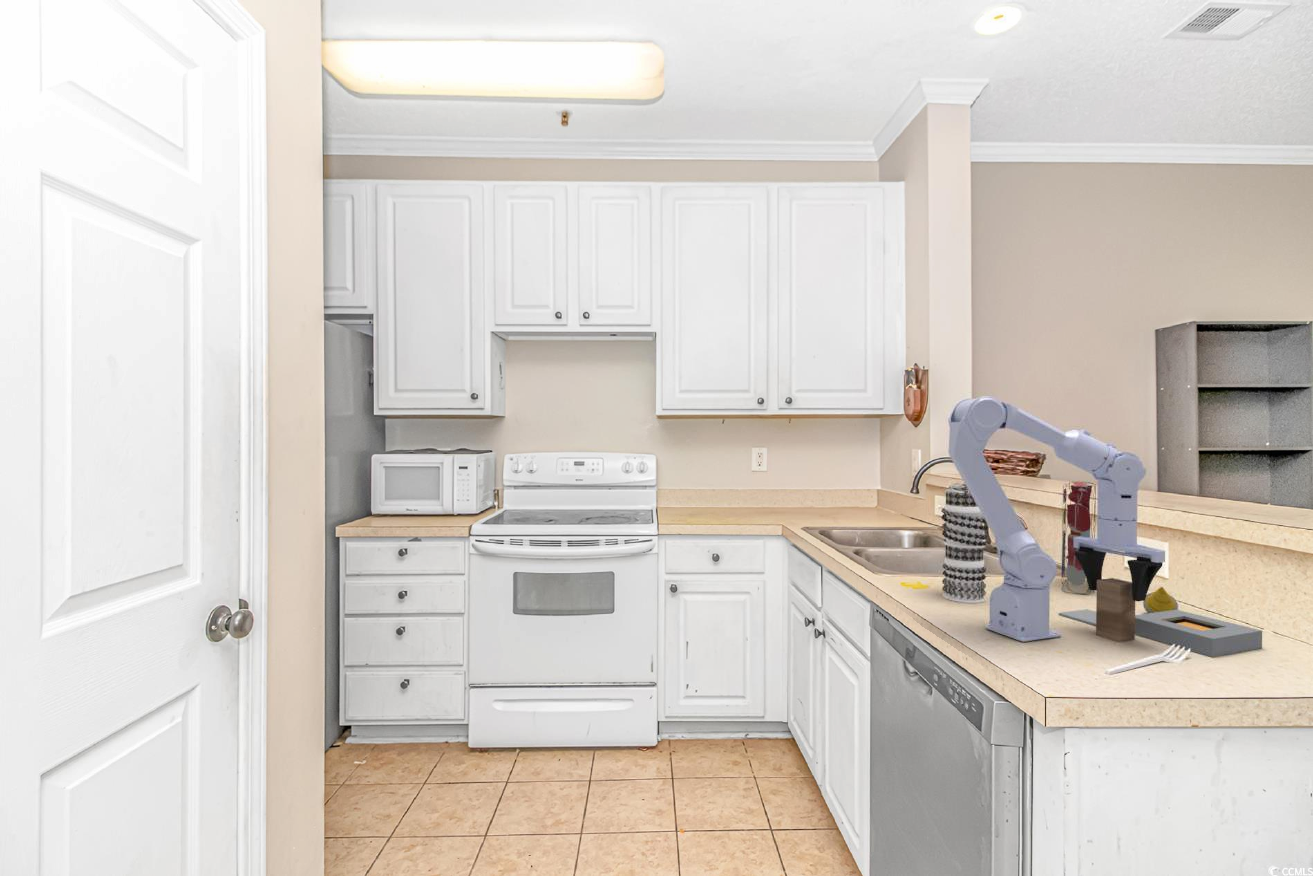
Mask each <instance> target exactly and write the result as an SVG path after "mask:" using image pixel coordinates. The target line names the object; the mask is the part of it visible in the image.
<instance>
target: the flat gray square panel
mask: <svg viewBox="0 0 1313 876" xmlns="http://www.w3.org/2000/svg"><path fill="white" fill-rule="evenodd" d="M1058 616H1062V617H1065V618H1067V619H1070V620H1071V619H1072V620H1074V621H1077V622H1082V623H1084V624H1087V625H1091V626H1095V627H1096V610H1092V609H1088V608H1086V609H1078V610H1070V611H1064V612H1062V611H1061V612H1059V613H1058Z"/></svg>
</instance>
